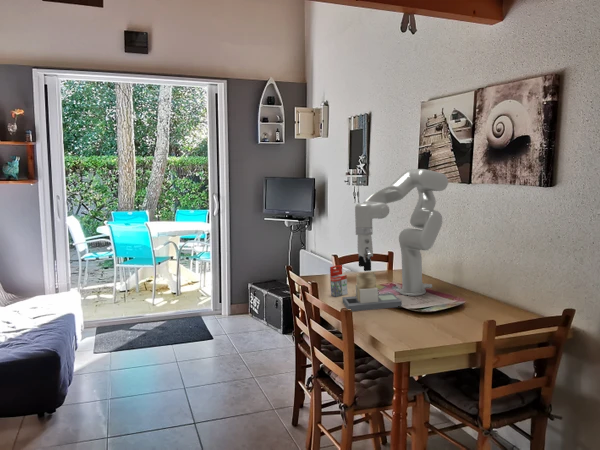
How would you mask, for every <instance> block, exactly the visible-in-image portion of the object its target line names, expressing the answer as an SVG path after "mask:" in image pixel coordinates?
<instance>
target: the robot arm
mask: <svg viewBox="0 0 600 450" xmlns="http://www.w3.org/2000/svg"><path fill="white" fill-rule="evenodd" d="M448 185H449V179H448V177H447V176H446V174H445V173H443V172H439V171H438V172H437V171H435V170H431V169H425V168H417V169H415V168H414V169H413V168H411V169H407V170H406V171H404V172H403V173H401V174H400V175H399V177H398V178H396V180H394V181H393V182H392V183H390V185H388V186H386V187H384V188H381V189H379V190H378V191H375V192H374V193H372V194H371V195H370V196H368V198H366V199H364V201H363V202H362V203H357V204H356V205H355V206H354V216H355V217H354V218H355V220H354V222H355V235H356V236H357V254H358V267H360V268H361V267H363V271H364V272H371V271H372V257H374V253H373V252H374V251H373V241H372V240H373V237H372V235H373V233H374V232H373V219H378V220H381V219H385V218H387V217H388V215H389V214H390V207H389V205H388V204H390V203H394V202H395V203H396V202H398V201H401V200H403V199H404V198H405V197H406V196H407V195H408V194H409V193H410V192H411V191H412V190H413V189H414V188H416V189H417V194H418V199H417V203H416V205H415V207H414V209H413V212H412V214H411V216H410V219H409V223H410V225H411V226H412V227H413V228H405V229H402V230H401V232H400V233H399V236H398V243H399V247H400V248H399V249H400V253H401V279H402V280H401V282H402V287H401V288H399V291H398V292H399V294H400V295H402V296H407V295H408V296H407V297H409V296H411V297H415V296H416V297H418V296H423V295H425V294H426V292H427V291H426V289H432V288H433V284H432V283H423V267H422V266H423V265H422V264H423V259H422V253H421V251H429V250H430V249H431V248H432V247H433V245H435V242H436V240H437V238H438V235H439V233H440V230H441V228H442V225H443V216H442V214H441V212H440V211H438V210H436V209H435V208H436V202H437V201H436V197H435V194H434V192H442V191H444V190H446V189H447V187H448Z"/></svg>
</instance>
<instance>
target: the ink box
mask: <svg viewBox="0 0 600 450" xmlns="http://www.w3.org/2000/svg"><path fill="white" fill-rule="evenodd" d="M329 274H330V275H329V278H330V279H329V280H330V295H331V296H332V297H333V298H337V297H342V296H344V295H348V293H349V292H348V275H347V274H344V273H343V264H337V265H333V266H330V267H329Z"/></svg>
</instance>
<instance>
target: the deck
mask: <svg viewBox="0 0 600 450" xmlns="http://www.w3.org/2000/svg"><path fill="white" fill-rule="evenodd" d="M341 297H342V296H341ZM402 303H403V302H402V300H401V299H400V298H399V297H398V296H396V295H395V294H394V293H393V292H390V293H389V292H388V293H378V302H371V303H360V302H359V300H358V299H357V298H356V295H355V296H343V297H342V304H343V305H344V306H345V308H346V310H348V309H351V310H352V311H351V312H358V311H370V310H378V309H379V310H382V309H391V308H393V309H394V308H399V307H398V306H401V305H402V306H403V304H402Z"/></svg>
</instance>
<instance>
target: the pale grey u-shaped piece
mask: <svg viewBox="0 0 600 450" xmlns="http://www.w3.org/2000/svg"><path fill="white" fill-rule="evenodd" d="M359 291H360V303H371V302H378V294H379V288H378V287H376V288H368V289H359ZM355 296H356V298H357V284H355Z"/></svg>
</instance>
